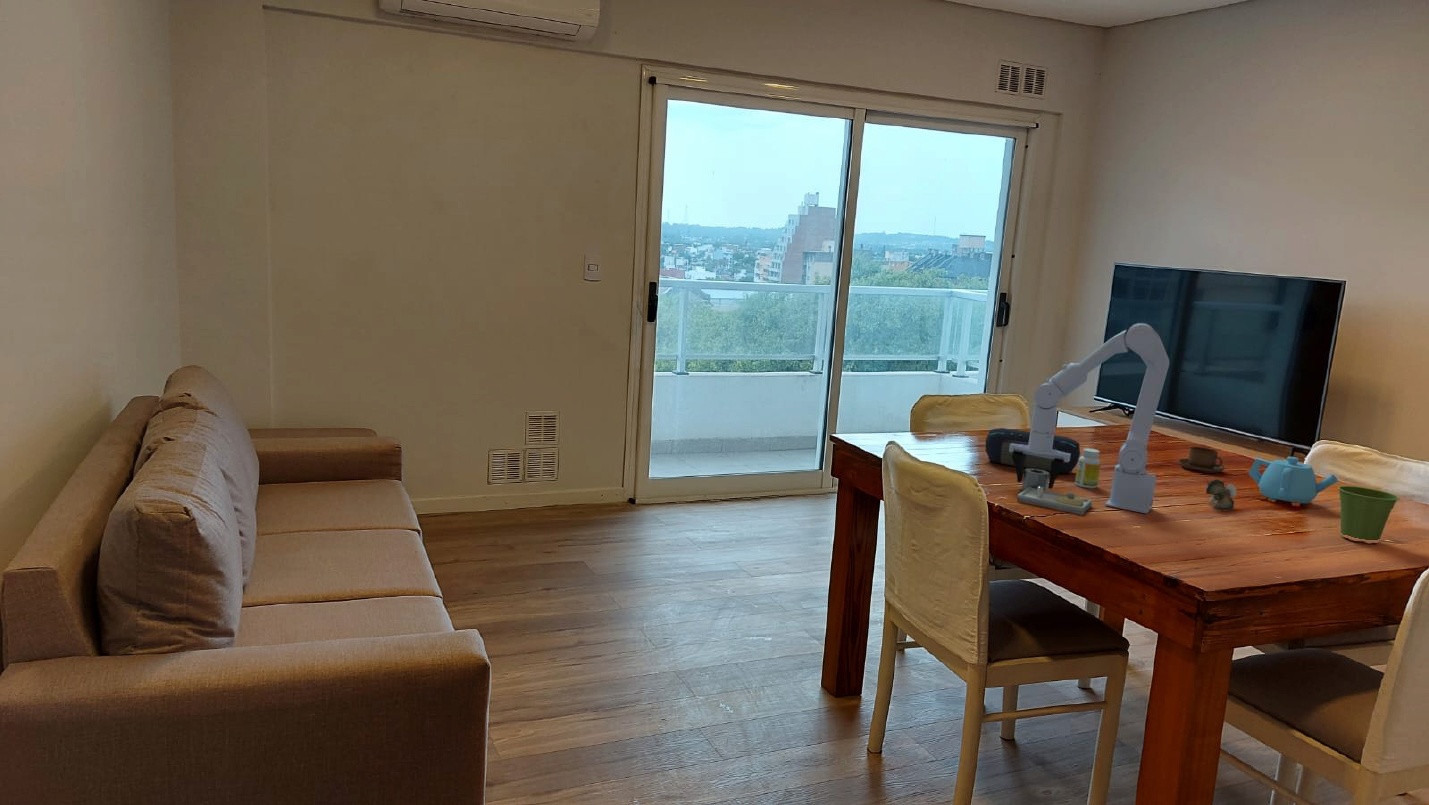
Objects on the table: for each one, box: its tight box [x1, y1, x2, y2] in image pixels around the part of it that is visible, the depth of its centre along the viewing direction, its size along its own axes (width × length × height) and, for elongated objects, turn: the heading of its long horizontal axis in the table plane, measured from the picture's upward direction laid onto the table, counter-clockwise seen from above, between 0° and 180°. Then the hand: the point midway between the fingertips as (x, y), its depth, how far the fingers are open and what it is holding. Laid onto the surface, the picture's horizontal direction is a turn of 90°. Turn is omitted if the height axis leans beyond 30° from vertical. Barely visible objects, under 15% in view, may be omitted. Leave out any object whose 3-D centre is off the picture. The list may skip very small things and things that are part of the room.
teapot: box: [1247, 456, 1339, 504], centre depth 252 cm, size 20×17×12 cm
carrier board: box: [1016, 487, 1093, 516], centre depth 232 cm, size 15×10×3 cm, turn 58°
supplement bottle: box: [1074, 447, 1102, 489], centre depth 252 cm, size 5×5×10 cm
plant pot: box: [1336, 485, 1401, 540], centre depth 221 cm, size 12×12×11 cm
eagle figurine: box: [1205, 479, 1237, 511], centre depth 242 cm, size 8×8×10 cm
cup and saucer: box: [1178, 446, 1225, 474], centre depth 284 cm, size 12×12×6 cm
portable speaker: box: [985, 427, 1081, 474], centre depth 269 cm, size 25×10×10 cm, turn 67°
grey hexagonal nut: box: [1021, 468, 1050, 491], centre depth 243 cm, size 6×6×5 cm
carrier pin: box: [1036, 486, 1044, 498], centre depth 234 cm, size 1×1×4 cm
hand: (1035, 484), depth 243 cm, fingers open, 7 cm apart
